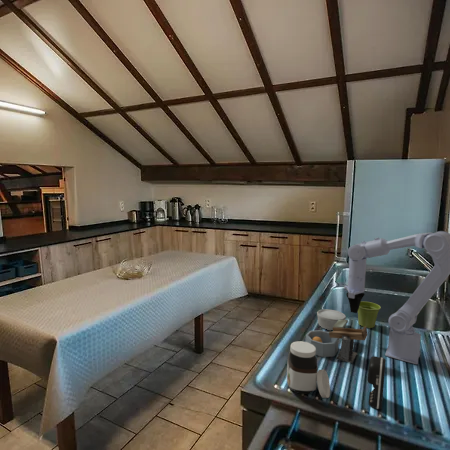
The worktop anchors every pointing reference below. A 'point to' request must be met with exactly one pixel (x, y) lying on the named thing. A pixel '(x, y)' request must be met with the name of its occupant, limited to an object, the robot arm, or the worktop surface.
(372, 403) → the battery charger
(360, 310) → the plant pot
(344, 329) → the lever
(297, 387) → the spread jar
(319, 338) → the ball
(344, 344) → the fulcrum
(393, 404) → the worktop surface
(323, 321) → the ramekin
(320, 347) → the bowl
